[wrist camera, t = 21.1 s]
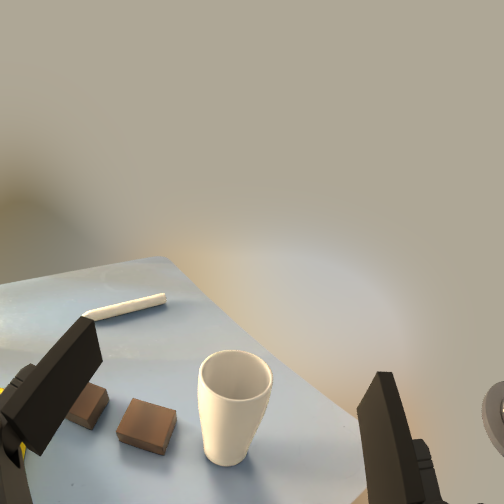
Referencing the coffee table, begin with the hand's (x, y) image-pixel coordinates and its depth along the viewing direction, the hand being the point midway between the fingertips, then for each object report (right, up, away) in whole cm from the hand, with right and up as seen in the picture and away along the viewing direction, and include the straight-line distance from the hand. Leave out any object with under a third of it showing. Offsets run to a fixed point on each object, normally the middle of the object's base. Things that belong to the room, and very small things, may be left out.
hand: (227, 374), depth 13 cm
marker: (-23, -6, +41) cm, 48 cm away
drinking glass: (-2, -19, +19) cm, 27 cm away
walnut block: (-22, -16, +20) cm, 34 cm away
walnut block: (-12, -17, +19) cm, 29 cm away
